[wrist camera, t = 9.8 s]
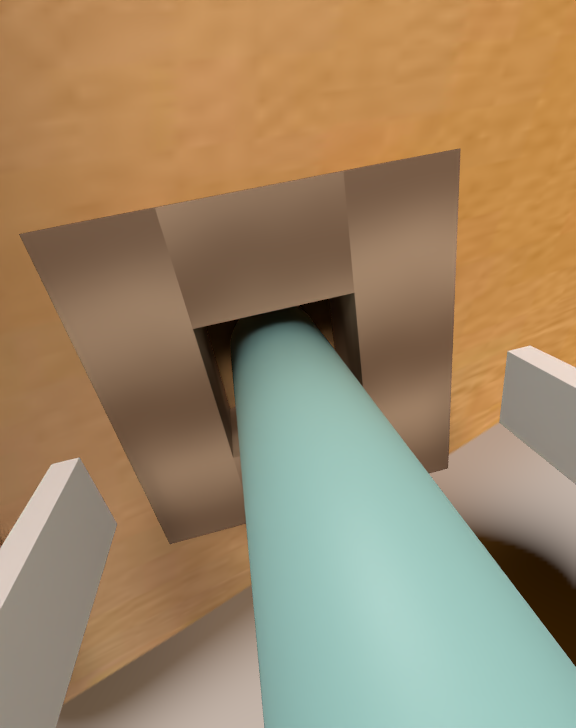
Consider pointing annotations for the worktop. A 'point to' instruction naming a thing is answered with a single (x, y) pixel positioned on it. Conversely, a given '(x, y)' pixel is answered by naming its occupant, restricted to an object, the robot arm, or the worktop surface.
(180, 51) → the worktop surface
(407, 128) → the worktop surface
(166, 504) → the socket block
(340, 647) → the peg
